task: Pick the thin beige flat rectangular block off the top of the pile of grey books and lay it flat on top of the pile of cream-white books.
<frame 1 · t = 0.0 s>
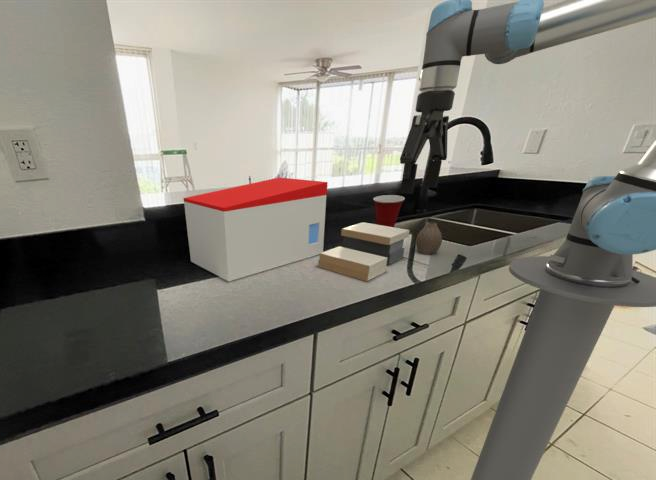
hand: (419, 190, 84), 20 cm above the counter, tool pointing down, fingers open, 13 cm apart
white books: (351, 269, 90), on the counter
vase: (426, 252, 101), on the counter
plastic cup: (384, 230, 127), on the counter
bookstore: (258, 257, 101), on the counter
beige flat rectangular block: (374, 236, 97), point 6 cm above the counter, touching grey books
grey books: (372, 255, 100), on the counter
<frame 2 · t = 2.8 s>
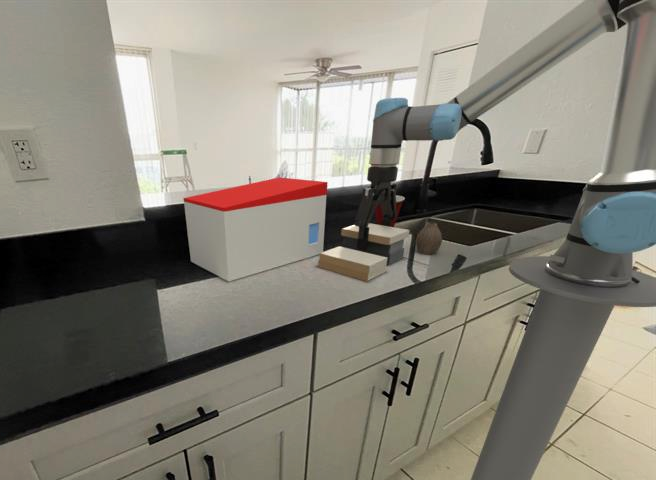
hand: (372, 245, 98), 3 cm above the counter, tool pointing down, fingers closed on beige flat rectangular block, 11 cm apart
beige flat rectangular block: (374, 236, 97), point 6 cm above the counter, touching grey books, gripper
everything else where it was.
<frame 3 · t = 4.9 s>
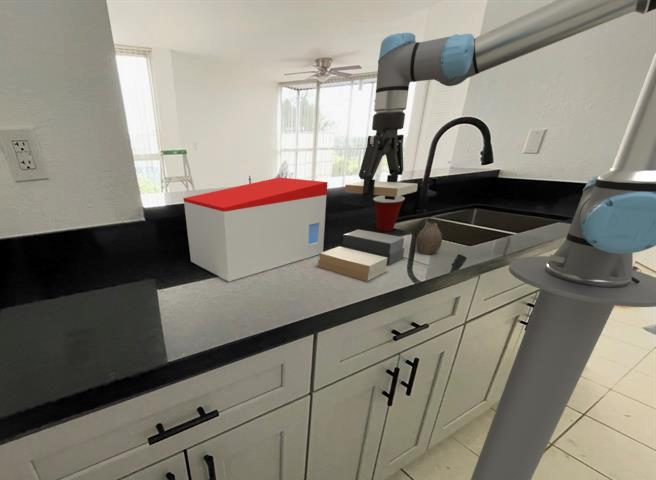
hand: (378, 202, 93), 16 cm above the counter, tool pointing down, fingers closed on beige flat rectangular block, 11 cm apart
beige flat rectangular block: (380, 191, 92), point 18 cm above the counter, touching gripper
everything else where it was.
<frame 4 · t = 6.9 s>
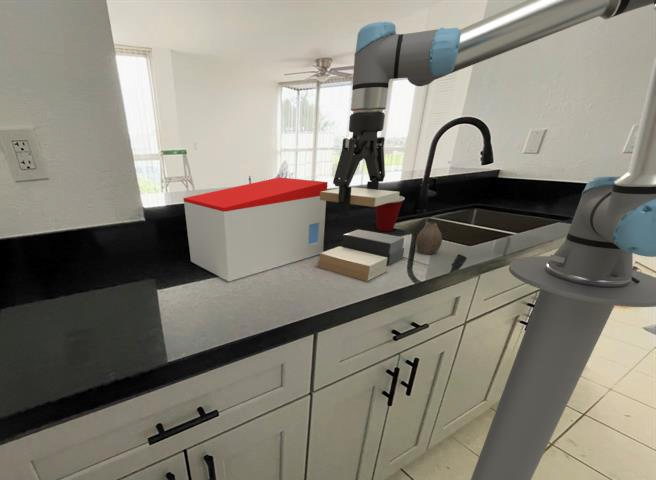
hand: (357, 211, 84), 15 cm above the counter, tool pointing down, fingers closed on beige flat rectangular block, 11 cm apart
beige flat rectangular block: (358, 200, 83), point 18 cm above the counter, touching gripper
everything else where it was.
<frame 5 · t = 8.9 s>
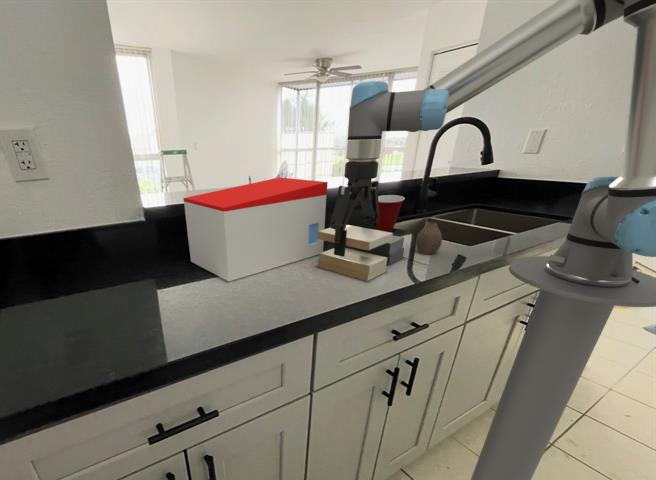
hand: (352, 250, 88), 5 cm above the counter, tool pointing down, fingers closed on beige flat rectangular block, 11 cm apart
beige flat rectangular block: (354, 239, 87), point 8 cm above the counter, touching gripper
everything else where it was.
when the fingers open (1 cm above the counter, at t = 10.8 s): beige flat rectangular block stays where it is, resting on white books.
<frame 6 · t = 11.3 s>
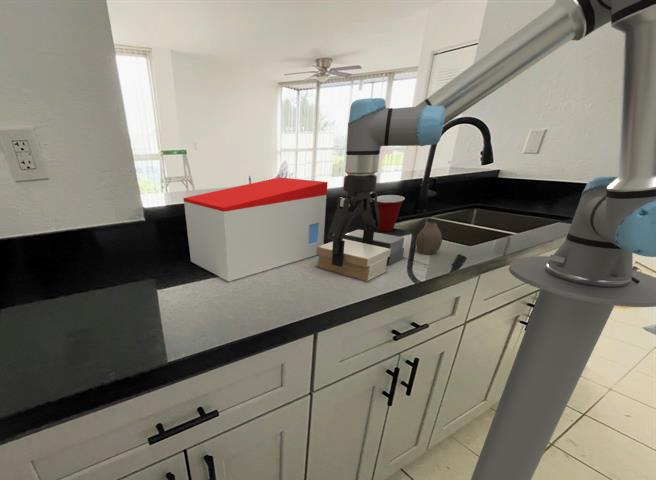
hand: (352, 259, 89), 3 cm above the counter, tool pointing down, fingers open, 13 cm apart
beige flat rectangular block: (352, 254, 88), point 4 cm above the counter, touching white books
everything else where it was.
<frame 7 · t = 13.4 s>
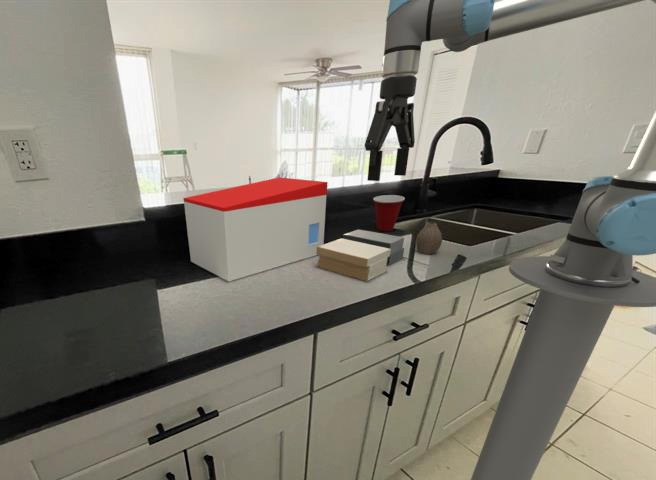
hand: (387, 178, 84), 23 cm above the counter, tool pointing down, fingers open, 13 cm apart
nothing on the counter moved.
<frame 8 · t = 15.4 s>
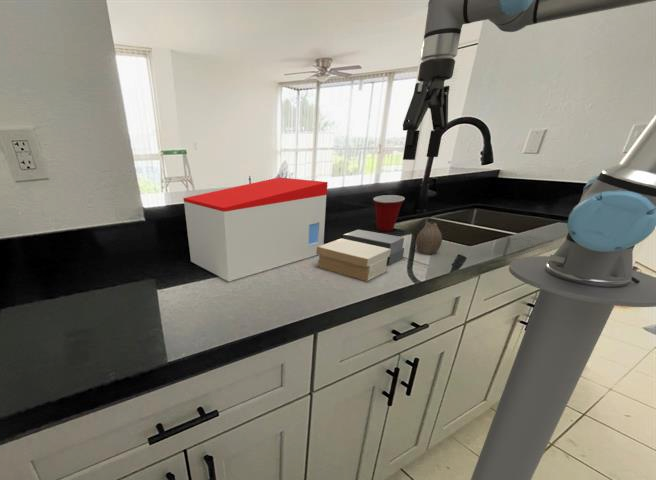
hand: (420, 158, 87), 27 cm above the counter, tool pointing down, fingers open, 13 cm apart
nothing on the counter moved.
at the end: beige flat rectangular block 0.1 cm off-centre on the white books, point 4.0 cm above the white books's base; beige flat rectangular block tilted 0°; the gripper is holding nothing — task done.
